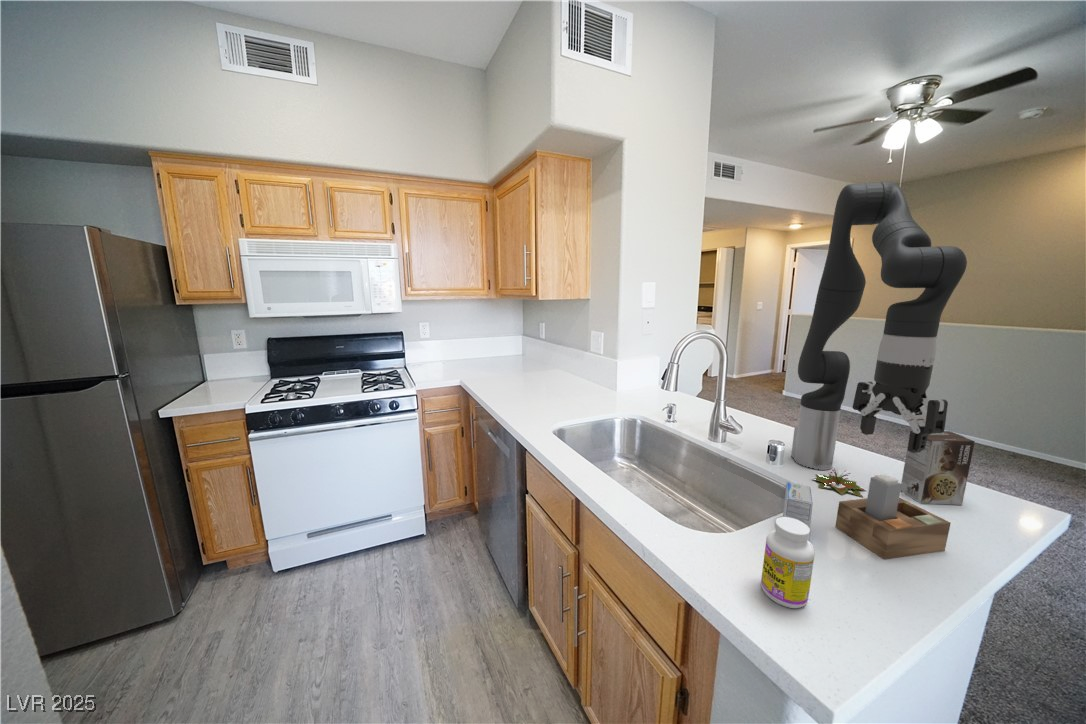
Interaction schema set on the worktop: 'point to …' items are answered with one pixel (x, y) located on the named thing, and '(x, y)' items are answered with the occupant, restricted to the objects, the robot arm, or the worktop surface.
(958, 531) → the worktop surface
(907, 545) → the socket block
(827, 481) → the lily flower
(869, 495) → the plug
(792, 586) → the supplement bottle
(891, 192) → the robot arm
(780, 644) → the worktop surface
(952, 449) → the coffee box
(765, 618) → the worktop surface
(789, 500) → the medicine box
